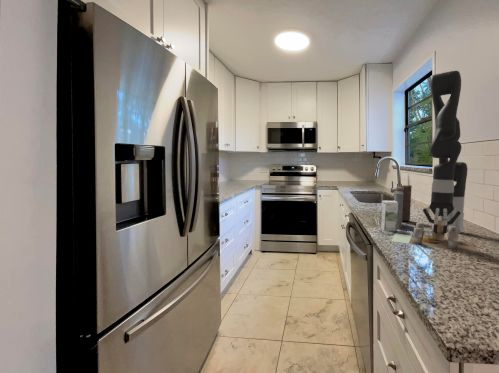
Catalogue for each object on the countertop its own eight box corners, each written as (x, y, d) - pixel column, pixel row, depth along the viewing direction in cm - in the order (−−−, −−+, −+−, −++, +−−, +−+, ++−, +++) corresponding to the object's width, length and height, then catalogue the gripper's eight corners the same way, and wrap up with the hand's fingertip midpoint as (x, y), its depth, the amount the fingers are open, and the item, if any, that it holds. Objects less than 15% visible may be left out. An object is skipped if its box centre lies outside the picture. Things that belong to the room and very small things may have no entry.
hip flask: (392, 222, 176) (394, 185, 174) (400, 223, 175) (402, 186, 173) (394, 228, 161) (396, 188, 159) (403, 229, 160) (405, 188, 158)
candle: (408, 222, 176) (410, 186, 174) (394, 221, 180) (396, 185, 178) (410, 220, 183) (412, 185, 181) (396, 219, 186) (398, 184, 185)
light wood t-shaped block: (444, 226, 134) (445, 215, 126) (443, 242, 131) (444, 231, 123) (436, 225, 135) (436, 214, 127) (435, 241, 132) (435, 230, 124)
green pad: (411, 237, 143) (412, 235, 143) (408, 245, 129) (408, 243, 129) (395, 235, 146) (396, 233, 146) (390, 243, 132) (390, 241, 132)
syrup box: (392, 229, 159) (393, 200, 158) (396, 232, 153) (398, 201, 152) (380, 229, 159) (381, 199, 158) (384, 231, 154) (385, 201, 152)
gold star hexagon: (431, 240, 135) (432, 235, 135) (438, 242, 130) (438, 238, 130) (419, 239, 135) (420, 235, 134) (425, 242, 130) (425, 237, 130)
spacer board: (473, 244, 132) (475, 227, 131) (477, 255, 118) (478, 236, 117) (412, 237, 143) (412, 221, 143) (408, 245, 129) (409, 228, 128)
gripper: (462, 191, 128) (459, 234, 130) (423, 189, 135) (420, 230, 137) (463, 192, 122) (460, 238, 123) (422, 190, 129) (419, 233, 130)
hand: (439, 233), depth 130 cm, fingers closed on light wood t-shaped block, 2 cm apart
